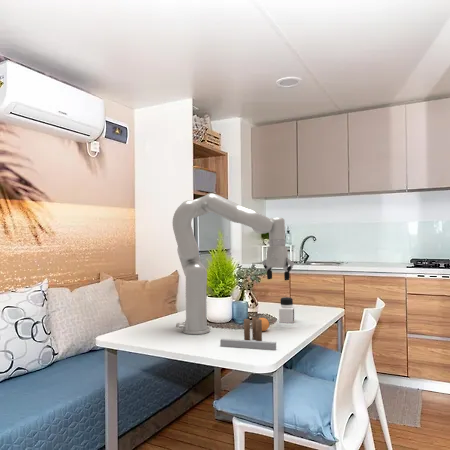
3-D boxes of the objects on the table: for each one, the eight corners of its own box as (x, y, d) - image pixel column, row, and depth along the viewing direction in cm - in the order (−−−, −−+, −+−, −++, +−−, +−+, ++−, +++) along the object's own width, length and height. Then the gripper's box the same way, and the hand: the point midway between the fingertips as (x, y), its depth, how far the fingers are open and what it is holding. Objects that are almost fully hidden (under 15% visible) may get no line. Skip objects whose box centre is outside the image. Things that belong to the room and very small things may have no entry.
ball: (257, 332, 187) (257, 319, 187) (255, 329, 193) (254, 316, 193) (270, 332, 187) (270, 318, 187) (267, 329, 193) (267, 316, 193)
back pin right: (256, 342, 169) (256, 320, 170) (255, 341, 172) (255, 319, 172) (262, 342, 170) (262, 320, 170) (261, 341, 172) (261, 319, 172)
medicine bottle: (293, 323, 205) (293, 298, 206) (279, 322, 207) (278, 298, 207) (294, 320, 212) (293, 296, 213) (280, 319, 214) (279, 296, 214)
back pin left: (244, 342, 171) (244, 320, 171) (243, 340, 173) (243, 318, 173) (250, 341, 171) (250, 319, 171) (249, 340, 174) (249, 318, 174)
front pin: (252, 340, 174) (252, 318, 174) (251, 338, 176) (251, 317, 177) (258, 339, 174) (258, 318, 174) (257, 338, 177) (257, 317, 177)
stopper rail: (220, 346, 165) (220, 339, 165) (221, 344, 167) (221, 338, 167) (275, 350, 159) (275, 343, 159) (276, 348, 161) (276, 342, 161)
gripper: (257, 243, 201) (258, 279, 201) (288, 243, 190) (289, 281, 190) (266, 243, 207) (267, 277, 206) (297, 243, 196) (298, 279, 195)
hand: (278, 279), depth 198 cm, fingers open, 9 cm apart
